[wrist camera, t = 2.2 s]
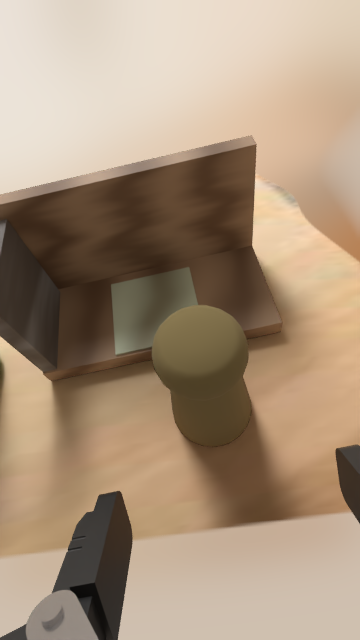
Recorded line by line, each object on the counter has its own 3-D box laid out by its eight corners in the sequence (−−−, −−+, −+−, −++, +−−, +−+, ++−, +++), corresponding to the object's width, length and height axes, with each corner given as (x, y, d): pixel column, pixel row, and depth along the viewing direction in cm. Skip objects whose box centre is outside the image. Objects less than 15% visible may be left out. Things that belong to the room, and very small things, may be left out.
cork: (258, 442, 24) (269, 385, 15) (174, 450, 25) (137, 400, 16) (244, 365, 28) (246, 280, 18) (170, 374, 28) (137, 295, 19)
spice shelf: (51, 381, 29) (-41, 305, 20) (55, 291, 35) (-14, 197, 25) (280, 331, 29) (300, 229, 19) (248, 247, 34) (251, 135, 25)
